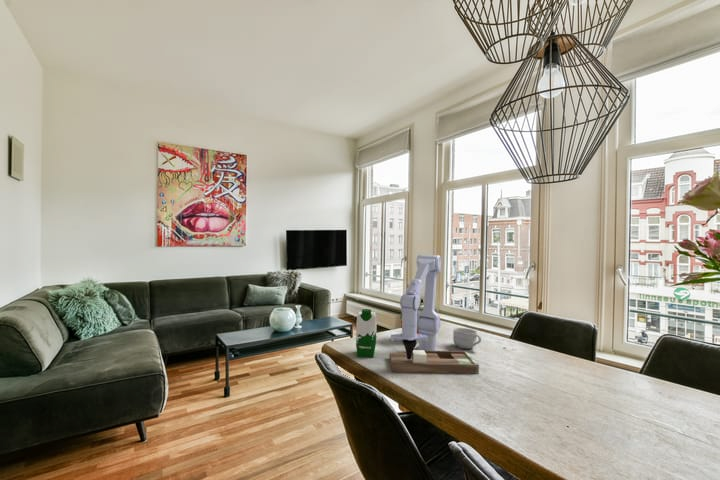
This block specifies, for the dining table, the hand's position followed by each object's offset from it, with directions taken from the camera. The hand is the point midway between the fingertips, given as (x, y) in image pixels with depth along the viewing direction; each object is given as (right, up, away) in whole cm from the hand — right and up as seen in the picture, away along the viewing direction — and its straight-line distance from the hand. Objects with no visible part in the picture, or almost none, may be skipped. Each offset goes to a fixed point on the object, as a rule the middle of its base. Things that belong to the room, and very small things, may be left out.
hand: (408, 358), depth 132 cm
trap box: (+9, -4, +3) cm, 11 cm away
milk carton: (-17, -3, +14) cm, 22 cm away
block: (+4, -1, -1) cm, 4 cm away
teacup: (+31, -4, +24) cm, 40 cm away
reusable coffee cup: (+7, -3, +34) cm, 35 cm away
